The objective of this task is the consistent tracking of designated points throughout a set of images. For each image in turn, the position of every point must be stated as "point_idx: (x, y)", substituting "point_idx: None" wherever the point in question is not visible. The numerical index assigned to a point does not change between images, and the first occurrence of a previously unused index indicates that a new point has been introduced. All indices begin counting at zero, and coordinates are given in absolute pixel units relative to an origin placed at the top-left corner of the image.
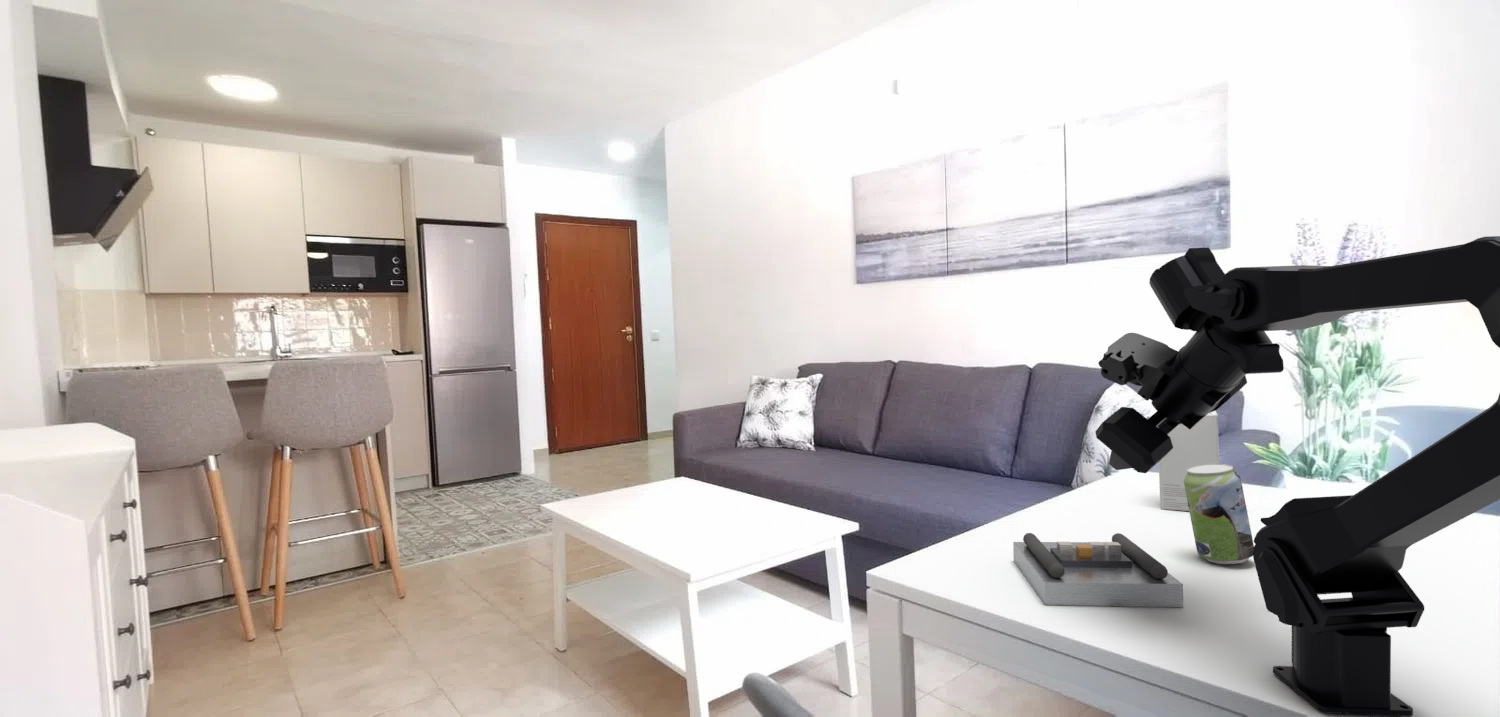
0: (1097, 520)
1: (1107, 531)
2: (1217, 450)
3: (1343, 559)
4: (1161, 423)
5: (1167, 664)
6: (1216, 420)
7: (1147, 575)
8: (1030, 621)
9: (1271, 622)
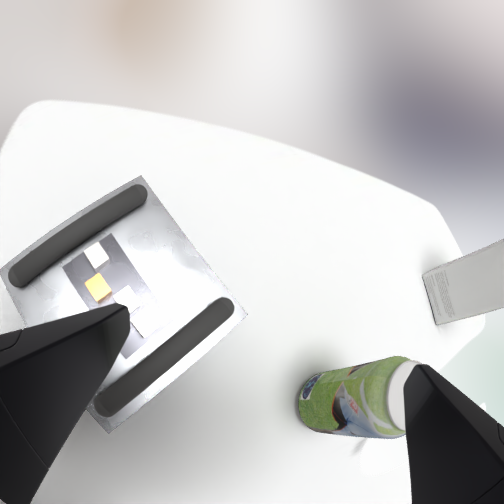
0: (359, 231)
1: (333, 253)
2: (492, 310)
3: None
4: (417, 390)
5: None
6: None
7: (108, 386)
8: None
9: (143, 499)
